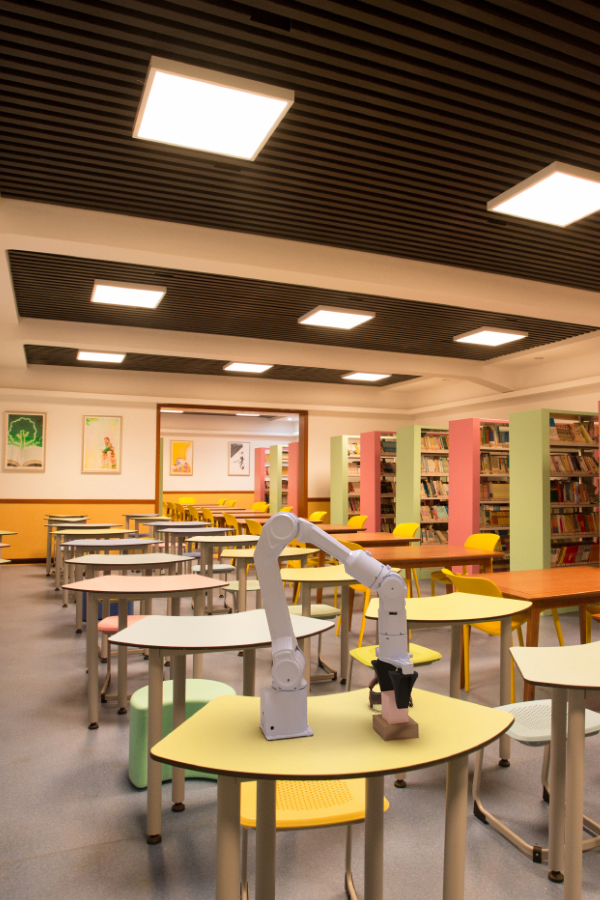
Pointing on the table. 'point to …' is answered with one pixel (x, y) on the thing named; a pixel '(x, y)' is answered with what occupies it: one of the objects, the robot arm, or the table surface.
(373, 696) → the brown curved piece
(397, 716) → the pink block
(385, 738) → the brown block
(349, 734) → the table surface
